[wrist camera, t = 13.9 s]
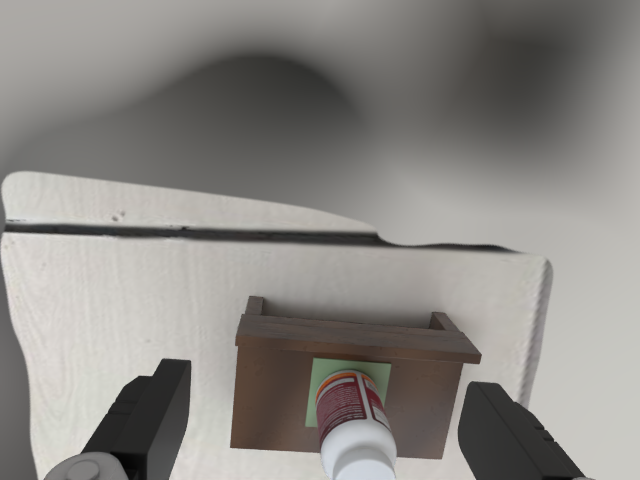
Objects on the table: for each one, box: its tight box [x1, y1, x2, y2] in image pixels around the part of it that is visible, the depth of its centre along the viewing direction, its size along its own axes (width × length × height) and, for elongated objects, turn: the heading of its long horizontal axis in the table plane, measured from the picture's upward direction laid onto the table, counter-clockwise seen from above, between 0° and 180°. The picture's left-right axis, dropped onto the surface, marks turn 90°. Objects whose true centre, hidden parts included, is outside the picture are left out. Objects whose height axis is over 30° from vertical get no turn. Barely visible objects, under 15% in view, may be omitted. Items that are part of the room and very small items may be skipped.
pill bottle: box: [315, 370, 397, 480], centre depth 37 cm, size 6×6×11 cm
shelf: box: [230, 296, 482, 459], centre depth 44 cm, size 22×14×9 cm, turn 83°
